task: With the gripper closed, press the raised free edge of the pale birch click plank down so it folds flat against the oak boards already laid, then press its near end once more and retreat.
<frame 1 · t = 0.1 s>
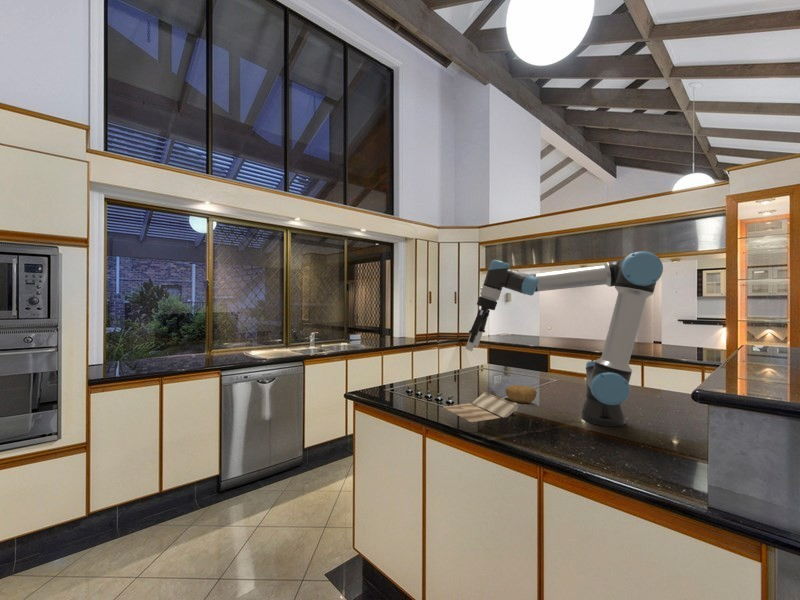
hand: (471, 347, 151), 28 cm above the counter, tool tilted 20°, fingers open, 13 cm apart
potato: (520, 403, 169), on the counter
laid boards: (470, 414, 152), on the counter
click plank: (493, 404, 156), point 3 cm above the counter, hinge at 32.0°
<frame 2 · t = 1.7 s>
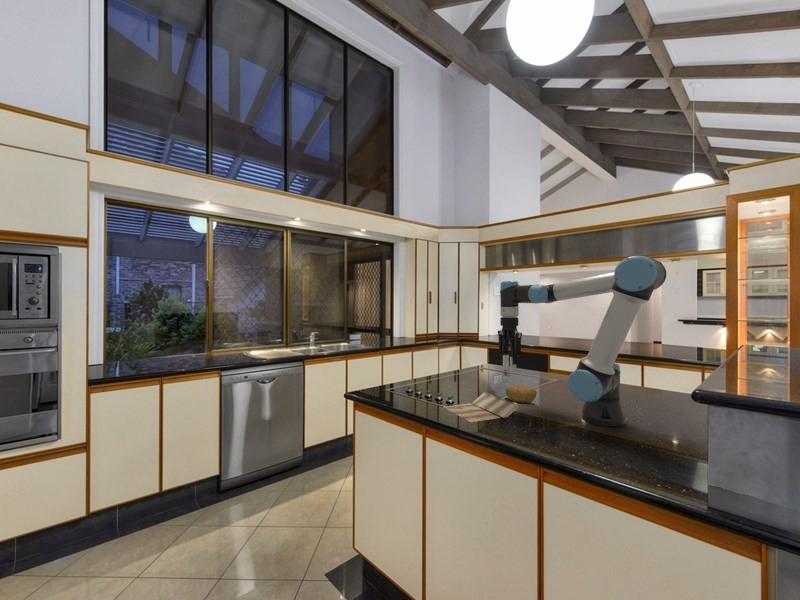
hand: (509, 370, 160), 17 cm above the counter, tool pointing down, fingers open, 4 cm apart
nothing on the counter moved.
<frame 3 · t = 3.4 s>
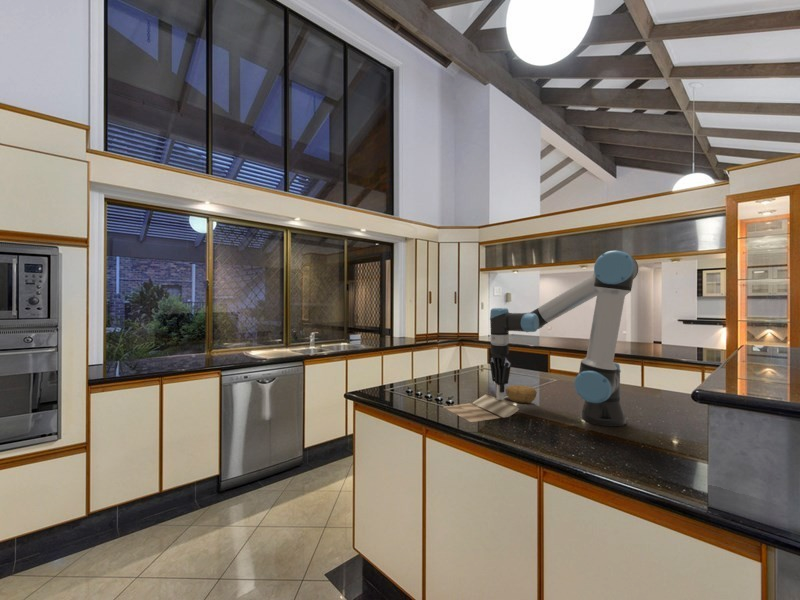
hand: (500, 399, 158), 5 cm above the counter, tool pointing down, fingers closed
click plank: (494, 406, 157), point 2 cm above the counter, hinge at 23.6°, touching gripper
everything else where it was.
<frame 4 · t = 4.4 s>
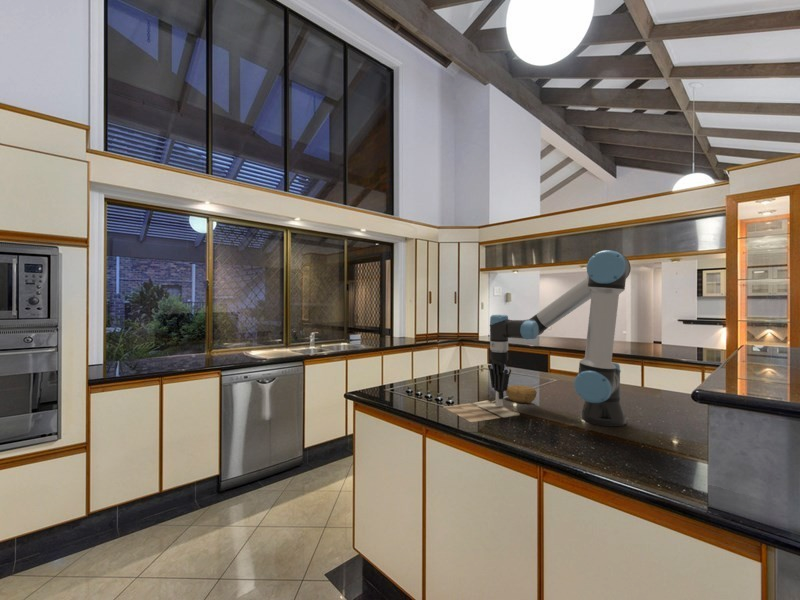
hand: (499, 406, 158), 2 cm above the counter, tool pointing down, fingers closed
click plank: (494, 409, 157), point 1 cm above the counter, hinge at 2.7°, touching gripper
everything else where it was.
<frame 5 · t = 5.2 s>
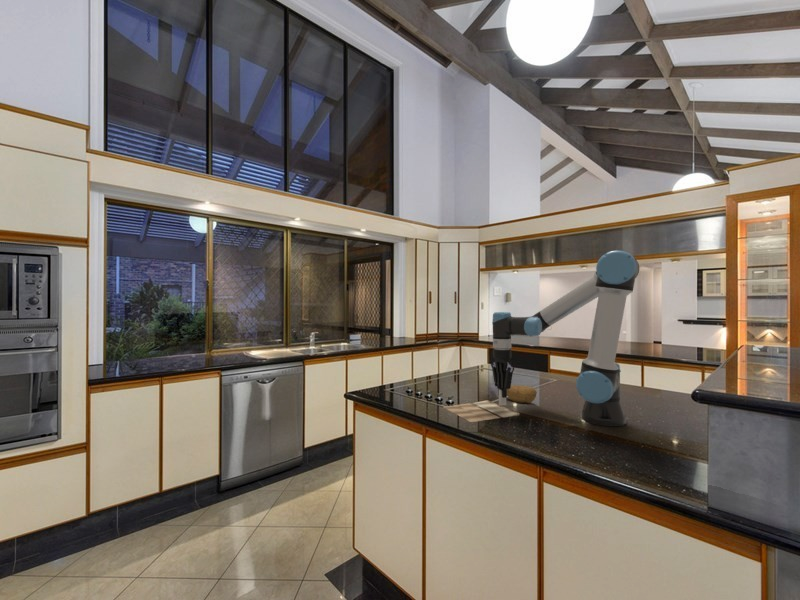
hand: (502, 404, 156), 3 cm above the counter, tool pointing down, fingers closed
click plank: (494, 409, 157), point 1 cm above the counter, hinge at 2.7°
everything else where it was.
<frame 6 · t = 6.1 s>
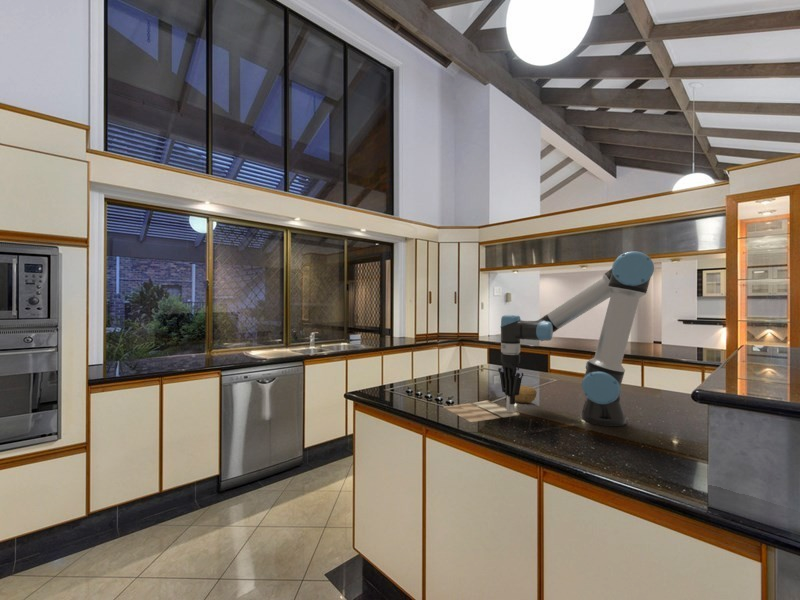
hand: (510, 411, 150), 2 cm above the counter, tool pointing down, fingers closed
click plank: (494, 409, 157), point 1 cm above the counter, hinge at 2.7°, touching gripper
everything else where it was.
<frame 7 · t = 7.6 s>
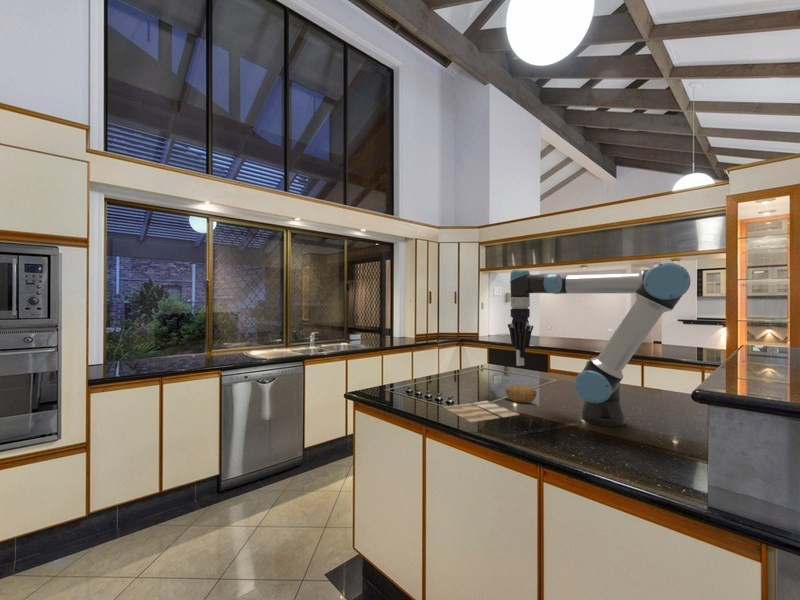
hand: (520, 365, 152), 20 cm above the counter, tool pointing down, fingers closed
click plank: (494, 409, 157), point 1 cm above the counter, hinge at 2.0°
everything else where it was.
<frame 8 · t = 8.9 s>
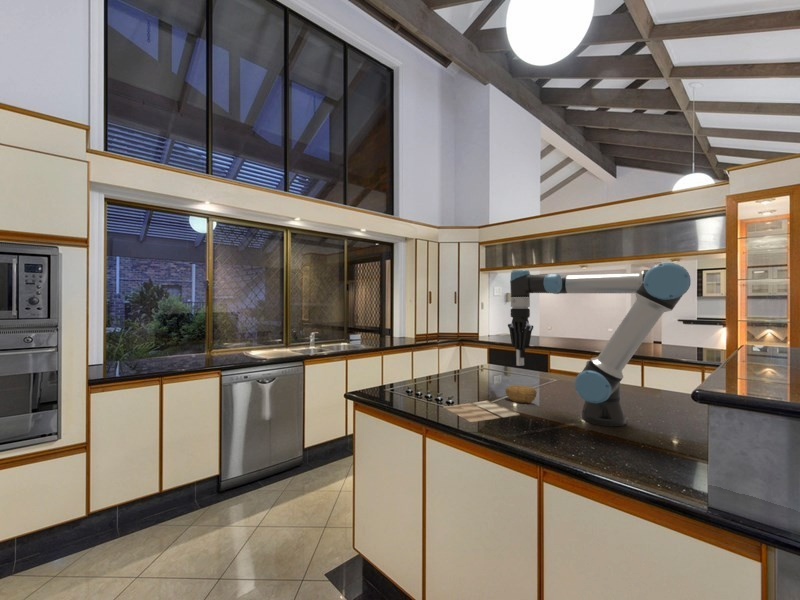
hand: (520, 365, 152), 20 cm above the counter, tool pointing down, fingers closed
nothing on the counter moved.
at the end: click plank at +2° (first picture: +32°) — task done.
